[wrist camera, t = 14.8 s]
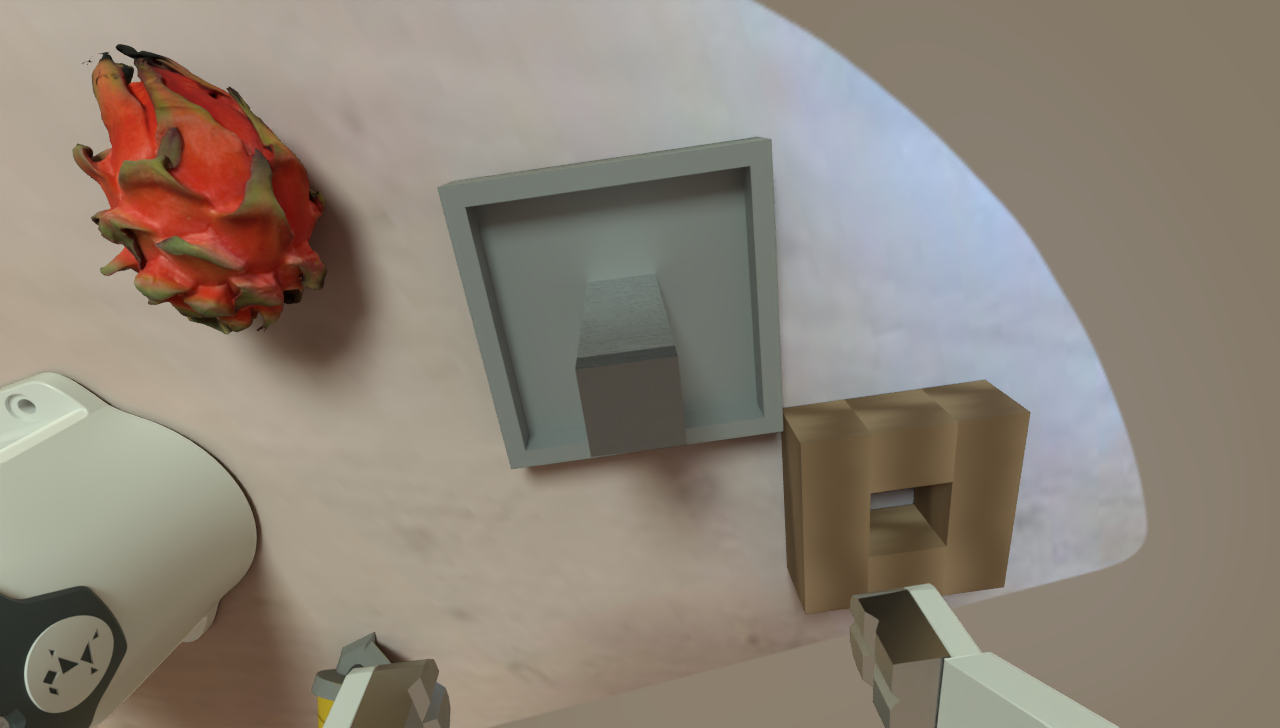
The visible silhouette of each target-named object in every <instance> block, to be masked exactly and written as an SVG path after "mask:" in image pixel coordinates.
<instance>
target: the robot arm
mask: <svg viewBox="0 0 1280 728" xmlns="http://www.w3.org/2000/svg"><path fill="white" fill-rule="evenodd" d="M256 544H257V533H256V525H255V520H254V517H253V513H252V511H251V508H250V506H249V503H248V501H247V499H246V497H245V496H244V494H243V492H242V491H241V489H240V487H239V486H238V484H237V483H236V482H235V480H234V479H233V478H232V477H231V475H230V474H229V473H228V472H227V471H226V470H225V469H224V468H223V467H222V466H221V465H220V464H219V463H218V462H217V461H216V460H215V459H214V458H213V457H212V456H210V455H209V454H208V453H207V452H206V451H204V450H203V449H202V448H200V447H199V446H197V445H196V444H194V443H193V442H192V441H190V440H188V439H187V438H185V437H183V436H182V435H180V434H178V433H176V432H174V431H172V430H170V429H168V428H166V427H164V426H162V425H159V424H157V423H154V422H152V421H149V420H146V419H143V418H141V417H138V416H135V415H132V414H129V413H126V412H123V411H121V410H119V409H116V408H114V407H112V406H110V405H108V404H107V403H105V402H104V401H102V400H101V399H100V398H98V397H97V396H95V395H94V394H93V393H91V392H90V391H88V390H87V389H85V388H84V387H82V386H81V385H79V384H78V383H76V382H74V381H73V380H71V379H69V378H67V377H65V376H62V375H60V374H56V373H42V374H38V375H35V376H33V377H30V378H27V379H24V380H22V381H19V382H16V383H13V384H11V385H8V386H5V387H2V388H0V728H96V727H97V726H99V725H100V724H102V723H103V722H104V721H105V720H106V719H107V718H108V717H109V716H110V715H111V714H112V713H113V712H114V711H115V710H116V709H117V708H118V707H119V706H120V705H121V704H122V703H123V702H124V701H125V700H126V699H127V698H128V697H129V696H130V695H131V694H132V693H133V692H134V691H135V690H136V689H137V688H138V687H139V686H140V685H141V684H142V683H143V682H144V681H145V680H146V679H147V678H148V677H149V675H150V674H151V673H152V672H153V671H154V670H155V669H156V668H157V667H158V666H159V665H160V664H161V663H162V662H163V661H164V660H165V659H166V658H167V657H168V656H169V655H170V654H171V653H172V651H173V650H174V649H175V648H176V647H177V646H178V645H179V644H180V643H181V642H192V641H195V640H197V639H198V638H199V637H200V636H201V635H202V634H203V633H204V632H205V631H206V630H207V629H208V628H209V627H210V626H211V625H212V623H213V621H214V618H215V615H216V611H217V608H218V603H219V601H220V600H221V598H222V597H223V596H224V595H225V594H226V593H227V592H229V591H230V590H231V589H232V588H233V587H234V586H235V585H236V584H237V583H238V582H239V581H240V580H241V579H242V578H243V577H244V575H245V574H246V573H247V571H248V569H249V568H250V566H251V564H252V561H253V558H254V555H255V551H256ZM850 611H851V613H852V615H853V617H854V619H855V622H854V623H853V624H852V625H851V626H850V643H851V647H852V653H853V657H854V660H855V662H856V665H857V668H858V670H859V672H860V675H861V677H862V679H863V680H864V681H865V682H867V683H868V684H870V685H871V686H872V687H873V703H874V705H875V707H876V709H877V711H878V713H879V716H880V718H881V720H882V722H883V724H884V726H885V728H1119V727H1117V726H1116V725H1114V724H1112V723H1111V722H1109V721H1107V720H1105V719H1104V718H1102V717H1100V716H1099V715H1097V714H1095V713H1093V712H1091V711H1090V710H1088V709H1087V708H1085V707H1083V706H1082V705H1080V704H1078V703H1077V702H1075V701H1073V700H1071V699H1070V698H1068V697H1066V696H1065V695H1063V694H1061V693H1059V692H1057V691H1056V690H1054V689H1053V688H1051V687H1049V686H1048V685H1046V684H1044V683H1042V682H1041V681H1039V680H1037V679H1036V678H1034V677H1032V676H1030V675H1029V674H1027V673H1025V672H1024V671H1022V670H1020V669H1019V668H1017V667H1015V666H1013V665H1012V664H1010V663H1008V662H1007V661H1005V660H1003V659H1001V658H1000V657H998V656H996V655H995V654H993V653H991V652H986V653H982V652H981V650H980V649H979V648H978V646H977V645H976V643H975V642H974V641H973V639H972V638H971V637H970V635H969V634H968V632H967V631H966V629H965V628H964V627H963V625H962V624H961V623H960V621H959V620H958V618H957V617H956V616H955V614H954V613H953V611H952V610H951V609H950V607H949V606H948V604H947V603H946V602H945V600H944V599H943V597H942V596H941V595H940V593H939V592H938V590H937V589H936V588H935V587H934V586H933V585H931V584H930V583H928V584H922V585H915V586H909V587H904V588H901V587H900V588H894V589H888V590H882V591H876V592H869V593H863V594H857V595H852V598H851V600H850ZM438 674H439V670H438V667H437V665H436V663H435V661H434V659H424V660H416V661H407V662H399V663H391V664H383V665H377V666H369V667H362V668H354V669H352V670H351V671H350V672H349V673H348V675H347V676H346V677H345V679H344V681H343V684H342V686H341V688H340V690H339V692H338V695H337V697H336V699H335V701H334V703H333V706H332V708H331V710H330V712H329V714H328V717H327V719H326V721H325V723H324V725H323V728H449V727H450V702H449V696H448V693H447V691H446V688H445V687H444V686H442V685H441V684H439V683H437V682H436V681H437V677H438Z"/></svg>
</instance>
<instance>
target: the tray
mask: <svg viewBox="0 0 1280 728" xmlns="http://www.w3.org/2000/svg"><path fill="white" fill-rule="evenodd" d="M437 189H438V192H439V196H440V200H441V204H442V208H443V211H444V215H445V219H446V223H447V227H448V230H449V234H450V238H451V242H452V246H453V249H454V253H455V257H456V261H457V265H458V268H459V272H460V276H461V280H462V284H463V287H464V291H465V295H466V299H467V303H468V306H469V310H470V314H471V318H472V322H473V325H474V329H475V333H476V337H477V341H478V344H479V348H480V352H481V356H482V360H483V363H484V367H485V371H486V375H487V379H488V382H489V386H490V390H491V394H492V398H493V401H494V405H495V409H496V413H497V417H498V420H499V424H500V428H501V432H502V436H503V439H504V443H505V447H506V451H507V455H508V458H509V462H510V466H511V469H517V468H524V467H531V466H538V465H546V464H553V463H560V462H567V461H574V460H581V459H588V458H596V457H591V454H590V449H589V443H588V438H587V432H586V427H585V421H584V416H583V410H582V405H581V399H580V394H579V388H578V383H577V377H576V372H575V367H576V360H577V352H578V345H579V338H580V330H581V323H582V316H583V308H584V301H585V293H586V286H587V282H594V281H601V280H609V279H616V278H624V277H632V276H639V275H647V274H655V275H656V278H657V282H658V286H659V289H660V293H661V297H662V300H663V304H664V307H665V311H666V315H667V318H668V322H669V326H670V329H671V333H672V336H673V340H674V344H675V347H676V351H677V355H678V361H679V371H680V381H681V390H682V400H683V410H684V419H685V429H686V439H687V445H688V444H696V443H703V442H710V441H717V440H724V439H731V438H738V437H745V436H753V435H760V434H767V433H774V432H781V431H783V408H782V383H781V359H780V335H779V310H778V286H777V262H776V237H775V213H774V189H773V164H772V140H771V139H768V138H762V137H754V138H747V139H740V140H733V141H726V142H719V143H712V144H706V145H699V146H692V147H685V148H678V149H671V150H664V151H657V152H651V153H644V154H637V155H630V156H623V157H616V158H609V159H602V160H596V161H589V162H582V163H575V164H568V165H561V166H554V167H547V168H540V169H534V170H527V171H520V172H513V173H506V174H499V175H492V176H485V177H479V178H472V179H465V180H458V181H451V182H449V183H447V184H444V185H442V186H440V187H438V188H437ZM659 449H660V448H659ZM651 450H653V449H651ZM644 451H646V450H644ZM636 452H638V451H636ZM628 453H631V452H628ZM621 454H624V453H621ZM613 455H617V454H613ZM605 456H610V455H605ZM597 457H603V456H597Z"/></svg>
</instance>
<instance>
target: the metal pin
mask: <svg viewBox="0 0 1280 728" xmlns="http://www.w3.org/2000/svg"><path fill="white" fill-rule="evenodd" d="M575 372H576V377H577V383H578V388H579V394H580V399H581V405H582V410H583V416H584V421H585V427H586V432H587V438H588V443H589V449H590V454H591V457H597V456H605V455H613V454H621V453H628V452H636V451H644V450H651V449H659V448H667V447H675V446H682V445H687V439H686V429H685V419H684V410H683V400H682V390H681V381H680V371H679V361H678V355H677V351H676V347H675V344H674V340H673V336H672V333H671V329H670V326H669V322H668V318H667V315H666V311H665V307H664V304H663V300H662V297H661V293H660V289H659V286H658V282H657V278H656V275H655V274H647V275H639V276H632V277H624V278H616V279H609V280H601V281H594V282H587V286H586V293H585V301H584V308H583V316H582V323H581V330H580V338H579V345H578V352H577V360H576V367H575Z"/></svg>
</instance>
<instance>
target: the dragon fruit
mask: <svg viewBox="0 0 1280 728" xmlns="http://www.w3.org/2000/svg"><path fill="white" fill-rule="evenodd" d="M116 49H117V50H118V51H120V52H121V53H123V54H124V55H127V56H129V57H131V58H133V59H135V60H134V65H135V66H136V67H137V69H138V70H137V71H138V77H139V78H140V79H141V81H140V82H132V83H131V80H132V77H133V73H134V68H133V67H132V66H127V65H125V64H122V63H120V64H119V63H114V61H113V60H112V58H111V56H110V55H108V54H109V53H108V52H105V53H101V54H103V57H102V58H101V59H100V60H99V63H98V65H97V66H96V68H95V69H94V71H93V73H92V85H93V92H94V94H95V97H96V99H97V101H98V104H99V107H100V111H101V117H102V120H103V122H104V125H105V127H106V128H107V130H108V133H109V138H110V142H111V145H112V148H110V149H107V150H105V151H103V152H101V153H99V154H97V155H96V156H93V151H92V149H91V148H90V147H88V146H84V145H81V144H77V145H76V147H74V148H73V157H74V160H75V162H76V163H77V165H78V166H79V167H80V168H81V169H82V170H83V171H84V172H85V173H86V174H87V175H89V176H90V177H91V178H93V179H94V180H95V181H97V182H98V183H99V184H100V185H101V187H102V189H103V191H104V192H105V194H106V196H107V199H108V201H109V204H110V207H111V209H109V210H104V211H100V212H98V213H96V214H95V215H94V216H93V217H91V219H92V221H93V222H95V223H96V224H97V225H99V228H98V230H99V231H100V232H101V233H102V234H101V235H102V236H103V237H104V238H106V239H108V240H109V241H111V242H113V243H115V244H123V245H124V246H125V247H124V249H123V251H122V252H121V253H120V254H119V255H117V256H116V257H115V258H114V259H113V260H112V261H111V262H110V263H109V264H107V265H106V266H105V267H104V268H100V271H101V273H102V274H103V275H105V276H109V275H112V274H114V273H115V272H117V271H124V270H127V269H130V268H131V269H133V270H134V271H136V272H137V273H138V274H137V276H136V277H135V280H134V284H135V287H136V288H137V289H138V290H139V291H140V292H141V293H142V294H143V295H144V296H146V297H147V298H148V299H149V302H148V304H150V305H157V304H160V303H163V302H170V303H171V304H172V305H173V306H174V307H175V308H176V309H177V310H178V311H179V312H180V313H181V314H182V315H183V316H187V318H188V319H189V321H193V322H197V323H202V324H205V325H207V326H210V327H212V328H214V329H216V330H219V331H221V332H223V333H224V334H229V333H230V332H231V331H234V332H239V331H242V330H244V329H246V328H248V327H249V326H251V324H252V322H253V319H256V317H257V315H258V312H259V313H260V314H261V315H262V316H263V318H264V324H263V326H262V327H260V328H259V329H257V331H259V330H260V329H262V328H265V330H266V329H267V328H268V326H270V325H271V324H272V323H274V322H276V321H277V320H278V318H279V317H280V314H281V312H282V311H283V304H284V303H285V304H293V303H299V302H300V301H301V299H302V294H303V290H304V286H306V287H308V288H310V289H314V290H321V289H322V288H323V285H324V278H325V276H326V274H327V269H326V267H325V266H324V264H323V263H322V262H321V260H320V258H319V255H318V253H316V252H314V251H313V250H312V249H311V248H310V246H309V240H310V237H311V235H312V232H313V230H314V227H315V225H316V222H317V220H318V219H319V218H320V217H321V216H322V215H323V212H324V210H325V200H324V198H323V196H322V194H321V193H320V192H319V191H317V192H315V191H313V190H311V189H309V180H308V177H307V172H306V170H305V168H304V166H303V164H302V163H301V162H300V160H299V159H298V158H297V157H296V155H295V154H294V153H293V152H292V151H291V150H290V149H289V148H288V147H286V146H285V145H284V144H283V143H282V142H281V141H280V140H279V139H278V138H277V136H276V135H275V134H274V133H273V132H272V131H271V130H270V128H269V127H268V126H267V125H266V124H265V123H264V122H263V121H262V120H261V118H259V117H257V116H256V115H254V114H253V113H252V111H251V110H250V107H249V106H248V105H247V104H246V103H245V101H244V100H243V99H242V97H241V96H240V95H239V93H238V92H237V91H235V90H234V89H232V88H231V87H229V88H227V90H228V92H229V93H227V92H226V91H224V90H222V89H220V88H218V87H216V86H214V85H212V84H209V83H208V82H206V81H204V80H202V79H201V78H199V77H197V76H196V75H194V74H192V73H191V72H190V71H188V70H187V69H186V68H184V67H183V66H181V65H180V64H178V63H177V62H175V61H173V60H171V59H169V58H167V57H164V56H161V55H157V54H154V53H151V52H146V51H140V52H137V51H136V50H135V49H134V48H132V47H130V46H127V45H122V44H118V45H117V46H116ZM99 54H100V53H99ZM88 62H91V61H90V60H89V61H88ZM84 63H85V62H84ZM82 64H83V63H82ZM87 65H88V64H87ZM149 65H150V66H149ZM87 68H88V67H87ZM300 277H303V278H302V279H301V278H300ZM303 285H304V286H303ZM282 291H283V292H282Z"/></svg>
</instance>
